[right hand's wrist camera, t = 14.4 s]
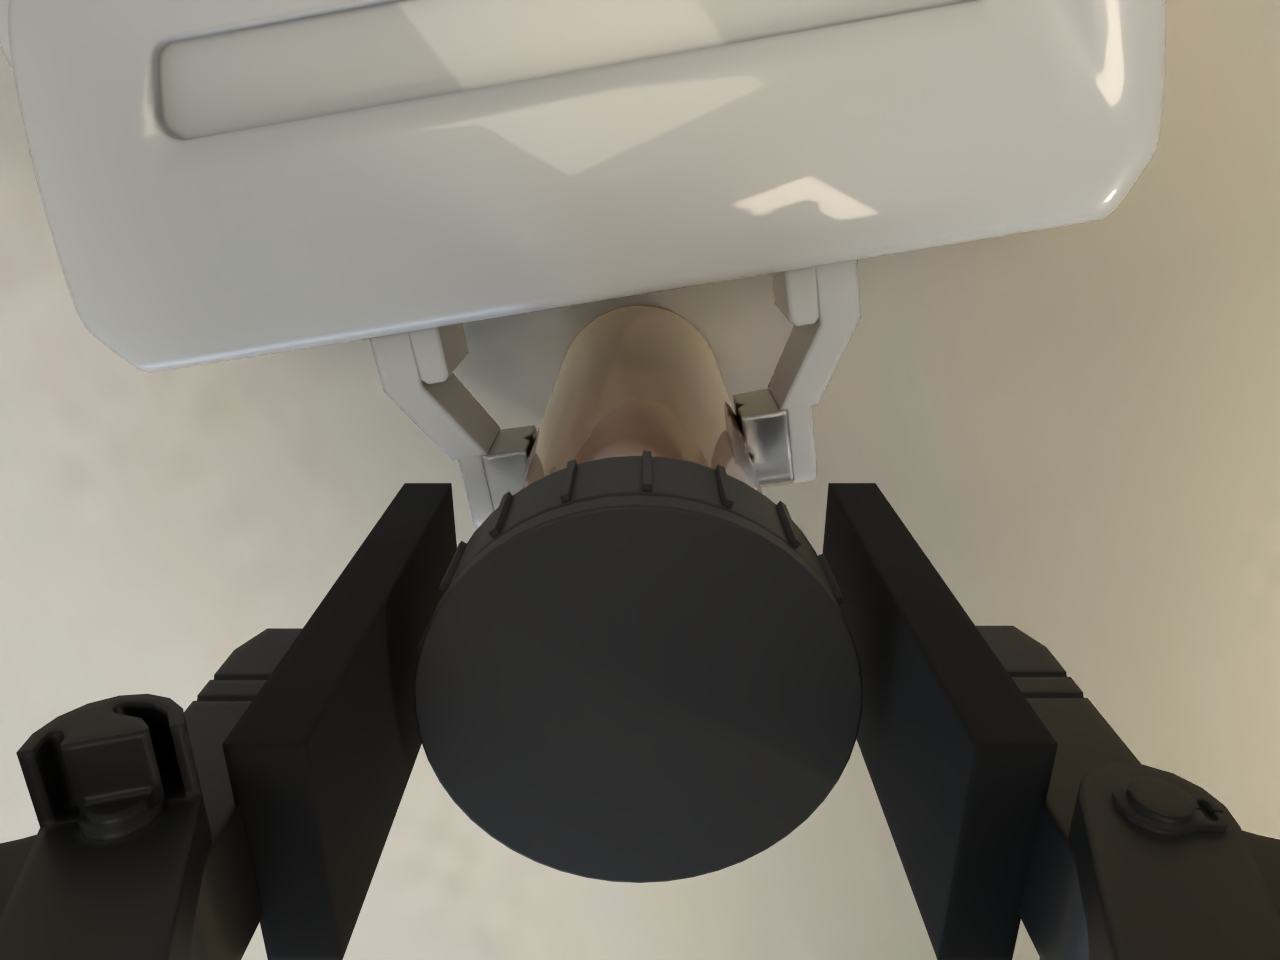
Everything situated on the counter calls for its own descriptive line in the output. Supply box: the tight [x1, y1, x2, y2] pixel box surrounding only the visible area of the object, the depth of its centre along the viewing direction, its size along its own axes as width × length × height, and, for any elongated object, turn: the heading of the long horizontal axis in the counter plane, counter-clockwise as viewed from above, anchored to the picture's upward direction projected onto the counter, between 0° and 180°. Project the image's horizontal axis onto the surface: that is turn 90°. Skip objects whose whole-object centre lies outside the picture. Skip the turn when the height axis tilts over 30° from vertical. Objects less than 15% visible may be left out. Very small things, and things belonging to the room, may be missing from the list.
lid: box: [414, 451, 863, 883], centre depth 11 cm, size 6×6×2 cm
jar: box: [515, 305, 763, 494], centre depth 18 cm, size 5×5×15 cm
